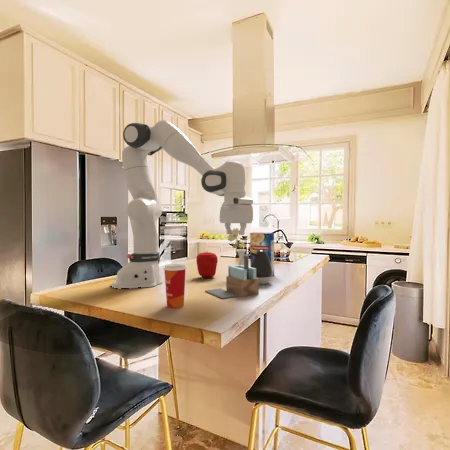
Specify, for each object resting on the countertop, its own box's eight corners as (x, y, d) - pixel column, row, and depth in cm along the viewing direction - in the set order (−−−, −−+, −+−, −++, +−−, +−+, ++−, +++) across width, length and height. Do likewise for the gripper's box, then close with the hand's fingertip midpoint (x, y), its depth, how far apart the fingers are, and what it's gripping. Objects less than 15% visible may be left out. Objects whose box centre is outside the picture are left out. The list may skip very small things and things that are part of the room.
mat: (222, 299, 115) (222, 297, 115) (205, 291, 127) (205, 290, 127) (238, 296, 119) (238, 295, 119) (220, 289, 131) (220, 288, 131)
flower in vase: (244, 274, 166) (243, 227, 165) (257, 277, 156) (257, 227, 156) (223, 277, 159) (222, 227, 158) (235, 280, 149) (235, 228, 149)
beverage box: (271, 277, 158) (270, 233, 157) (250, 275, 162) (249, 233, 162) (274, 274, 164) (274, 232, 164) (254, 273, 168) (254, 232, 168)
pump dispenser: (245, 282, 145) (245, 249, 145) (265, 280, 150) (264, 248, 149) (256, 286, 136) (256, 251, 136) (276, 284, 140) (276, 250, 140)
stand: (241, 296, 119) (241, 256, 118) (226, 290, 128) (226, 254, 128) (258, 293, 123) (258, 255, 123) (242, 288, 132) (242, 253, 132)
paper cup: (165, 303, 110) (164, 263, 110) (187, 302, 111) (186, 262, 111) (162, 309, 103) (162, 266, 102) (186, 308, 103) (185, 266, 103)
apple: (192, 277, 158) (192, 250, 157) (206, 275, 165) (206, 249, 165) (207, 280, 151) (207, 252, 150) (221, 277, 158) (221, 250, 158)
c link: (228, 276, 129) (228, 266, 129) (240, 274, 132) (240, 265, 132) (243, 280, 119) (243, 269, 119) (256, 278, 122) (256, 268, 122)
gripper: (215, 202, 136) (216, 233, 137) (242, 199, 119) (242, 235, 119) (228, 202, 140) (228, 233, 140) (255, 199, 122) (256, 235, 122)
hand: (235, 234), depth 129 cm, fingers open, 8 cm apart
